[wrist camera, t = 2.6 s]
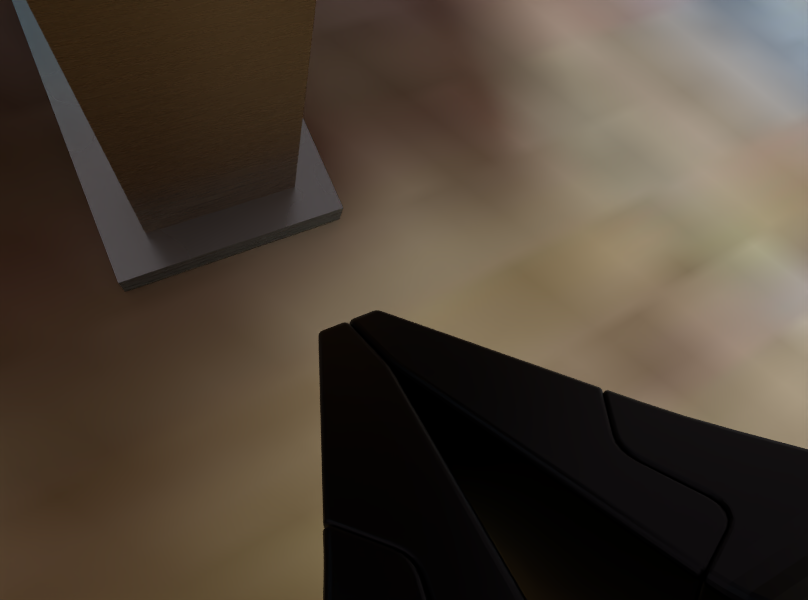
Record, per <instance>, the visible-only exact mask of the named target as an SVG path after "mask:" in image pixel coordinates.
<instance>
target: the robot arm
mask: <svg viewBox="0 0 808 600" xmlns="http://www.w3.org/2000/svg"><path fill="white" fill-rule="evenodd" d="M319 375H320V413H321V452H322V491H323V525H324V528H325V529H324V530H323V547H324V584H323V600H808V449H805V448H801V447H797V446H793V445H789V444H786V443H782V442H778V441H774V440H770V439H767V438H763V437H759V436H755V435H751V434H748V433H744V432H740V431H736V430H733V429H729V428H726V427H722V426H719V425H715V424H712V423H708V422H705V421H701V420H697V419H694V418H690V417H687V416H683V415H680V414H677V413H674V412H671V411H668V410H665V409H662V408H659V407H656V406H653V405H650V404H647V403H644V402H640V401H637V400H635V399H632V398H629V397H626V396H623V395H620V394H617V393H614V392H612V391H609V390H606V391H604V393H603V391H602V389H601V388H599V387H597V386H594V385H591V384H588V383H585V382H582V381H580V380H577V379H574V378H571V377H568V376H565V375H562V374H560V373H557V372H554V371H551V370H548V369H545V368H542V367H540V366H537V365H534V364H531V363H528V362H525V361H522V360H520V359H517V358H514V357H511V356H508V355H505V354H502V353H500V352H497V351H494V350H491V349H488V348H485V347H482V346H480V345H477V344H474V343H471V342H468V341H465V340H462V339H460V338H457V337H454V336H451V335H448V334H445V333H442V332H439V331H437V330H434V329H431V328H428V327H425V326H422V325H419V324H417V323H414V322H411V321H408V320H405V319H402V318H399V317H397V316H394V315H391V314H388V313H385V312H382V311H378V310H376V311H372V312H370V313H367V314H364V315H362V316H359V317H357V318H354V319H352V320H351V321H350V324H349V323H341V324H338V325H336V326H333V327H331V328H328V329H325V330H323V331H321V332H320V333H319Z"/></svg>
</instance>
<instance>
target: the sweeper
mask: <svg viewBox="0 0 808 600" xmlns="http://www.w3.org/2000/svg"><path fill="white" fill-rule="evenodd" d="M12 2H13V4H14V7H15V10H16V12H17V15H18V18H19V20H20V23H21V26H22V28H23V31H24V34H25V36H26V39H27V42H28V44H29V47H30V50H31V52H32V55H33V58H34V60H35V63H36V66H37V68H38V71H39V74H40V76H41V79H42V82H43V84H44V87H45V90H46V92H47V95H48V98H49V100H50V103H51V106H52V108H53V111H54V114H55V116H56V119H57V122H58V124H59V127H60V130H61V132H62V135H63V137H64V140H65V143H66V145H67V148H68V151H69V153H70V156H71V159H72V161H73V164H74V167H75V169H76V172H77V175H78V177H79V180H80V183H81V185H82V188H83V191H84V193H85V196H86V199H87V201H88V204H89V207H90V209H91V212H92V215H93V217H94V220H95V223H96V225H97V228H98V231H99V233H100V236H101V239H102V241H103V244H104V247H105V249H106V252H107V255H108V257H109V260H110V263H111V265H112V268H113V271H114V273H115V276H116V278H117V281H118V283H119V285H120V286H121V287H122V288H123V290H124V291H125V292H126V291H129V290H131V289H134V288H137V287H140V286H143V285H146V284H149V283H152V282H155V281H158V280H161V279H164V278H167V277H170V276H173V275H176V274H179V273H182V272H185V271H188V270H190V269H193V268H196V267H199V266H202V265H205V264H208V263H211V262H214V261H217V260H220V259H223V258H226V257H229V256H232V255H235V254H238V253H241V252H244V251H247V250H249V249H252V248H255V247H258V246H261V245H264V244H267V243H270V242H273V241H276V240H279V239H282V238H285V237H288V236H291V235H294V234H297V233H300V232H303V231H305V230H308V229H311V228H314V227H317V226H320V225H323V224H326V223H329V222H332V221H335V220H338V219H340V216H341V213H342V210H343V207H342V204H341V202H340V200H339V198H338V195H337V193H336V191H335V189H334V186H333V184H332V182H331V180H330V177H329V175H328V173H327V171H326V168H325V166H324V164H323V162H322V160H321V157H320V155H319V153H318V151H317V148H316V146H315V144H314V142H313V139H312V137H311V135H310V133H309V130H308V128H307V126H306V124H305V121H304V119H303V111H304V102H305V93H306V84H307V76H308V67H309V58H310V49H311V40H312V31H313V23H314V14H315V5H316V0H12Z"/></svg>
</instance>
